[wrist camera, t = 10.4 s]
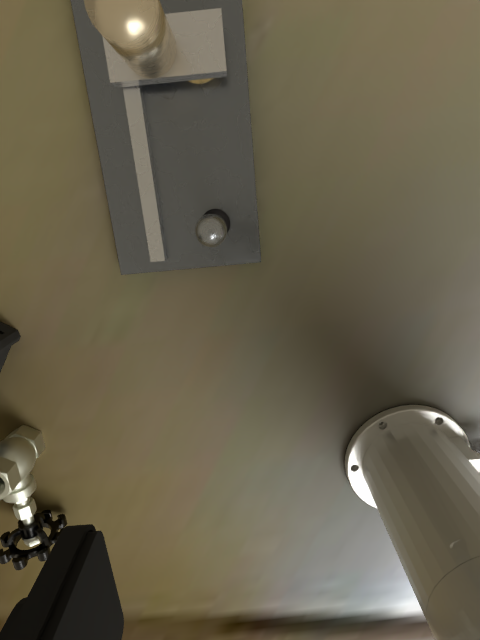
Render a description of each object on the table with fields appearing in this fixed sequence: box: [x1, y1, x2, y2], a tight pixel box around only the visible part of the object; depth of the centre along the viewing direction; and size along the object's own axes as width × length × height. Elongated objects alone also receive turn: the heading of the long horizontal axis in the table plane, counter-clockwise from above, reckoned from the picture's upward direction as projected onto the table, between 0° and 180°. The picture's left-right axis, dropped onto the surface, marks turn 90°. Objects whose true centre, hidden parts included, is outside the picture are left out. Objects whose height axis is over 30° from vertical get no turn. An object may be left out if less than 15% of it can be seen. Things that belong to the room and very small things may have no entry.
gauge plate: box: [71, 0, 261, 275], centre depth 28 cm, size 12×23×9 cm, turn 5°
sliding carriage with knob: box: [84, 0, 227, 88], centre depth 24 cm, size 8×4×9 cm, turn 95°
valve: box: [0, 425, 67, 570], centre depth 39 cm, size 7×7×12 cm
